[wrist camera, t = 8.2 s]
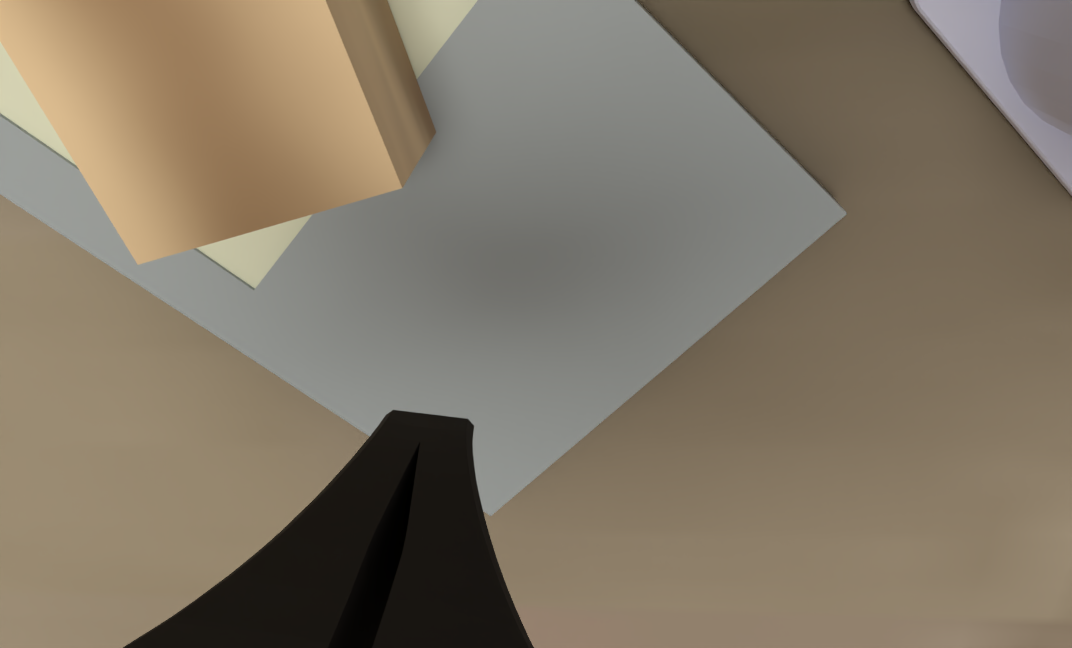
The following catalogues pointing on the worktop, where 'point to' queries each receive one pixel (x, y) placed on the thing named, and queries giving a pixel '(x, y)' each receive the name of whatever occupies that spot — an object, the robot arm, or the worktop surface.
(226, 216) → the oak block
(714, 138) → the board
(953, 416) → the worktop surface
